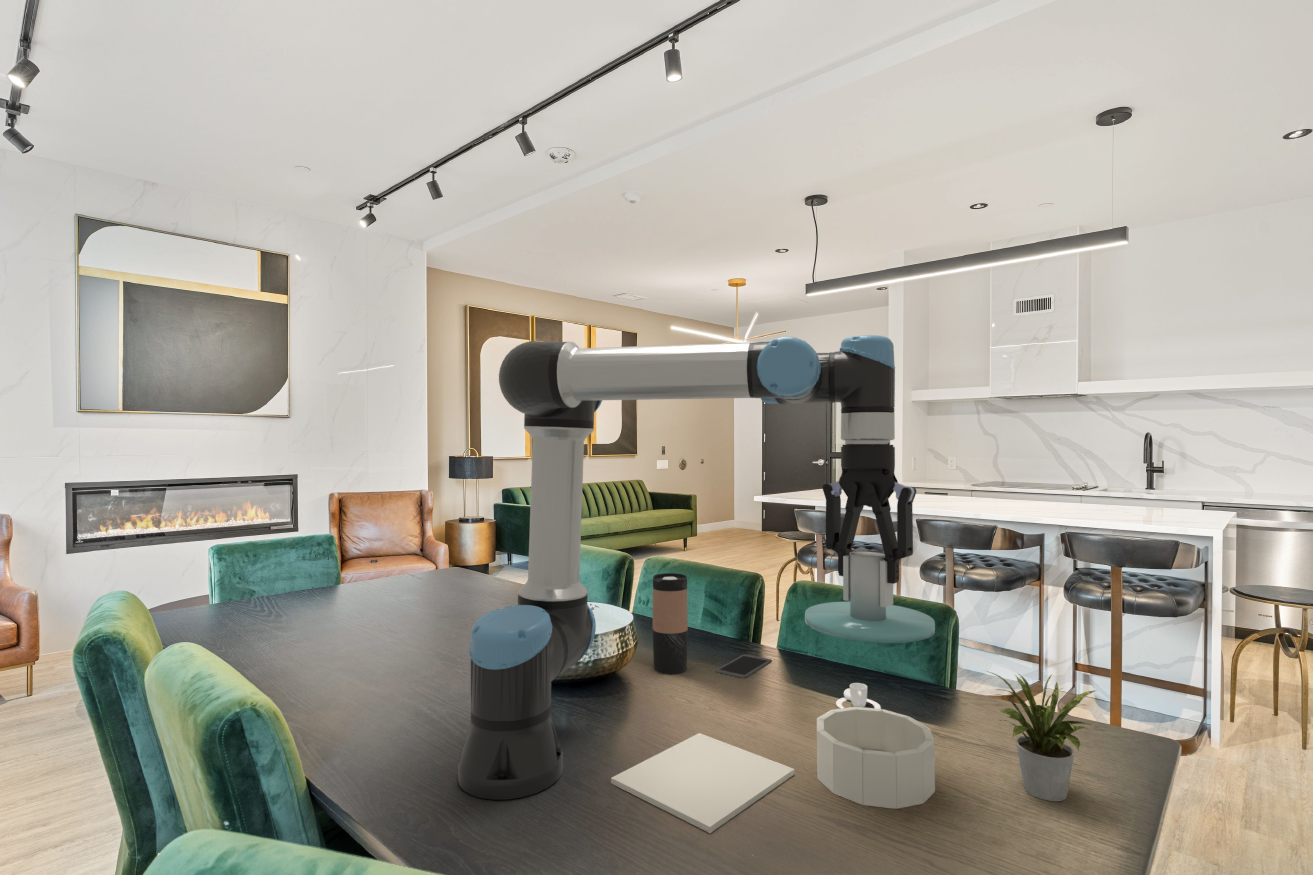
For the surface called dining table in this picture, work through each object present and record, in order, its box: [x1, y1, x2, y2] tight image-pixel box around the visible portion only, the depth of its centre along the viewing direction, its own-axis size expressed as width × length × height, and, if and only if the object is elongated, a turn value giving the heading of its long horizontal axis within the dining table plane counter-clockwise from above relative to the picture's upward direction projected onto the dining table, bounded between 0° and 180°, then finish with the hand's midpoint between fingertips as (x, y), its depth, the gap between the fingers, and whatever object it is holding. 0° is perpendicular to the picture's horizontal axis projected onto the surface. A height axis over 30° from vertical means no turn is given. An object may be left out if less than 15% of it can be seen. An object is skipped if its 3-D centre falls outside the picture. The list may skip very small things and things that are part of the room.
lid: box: [804, 551, 936, 644], centre depth 97 cm, size 18×18×10 cm
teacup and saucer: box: [835, 682, 882, 709], centre depth 123 cm, size 9×8×4 cm
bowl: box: [816, 706, 936, 810], centre depth 96 cm, size 16×16×7 cm
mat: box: [610, 732, 795, 834], centre depth 96 cm, size 20×18×1 cm
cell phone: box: [714, 653, 773, 679], centre depth 145 cm, size 7×14×1 cm, turn 145°
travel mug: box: [652, 572, 689, 675], centre depth 143 cm, size 8×8×20 cm
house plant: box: [983, 670, 1096, 802], centre depth 93 cm, size 14×14×16 cm
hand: (867, 601), depth 97 cm, fingers closed on lid, 5 cm apart
